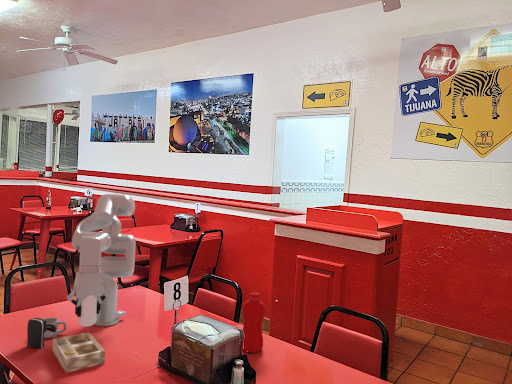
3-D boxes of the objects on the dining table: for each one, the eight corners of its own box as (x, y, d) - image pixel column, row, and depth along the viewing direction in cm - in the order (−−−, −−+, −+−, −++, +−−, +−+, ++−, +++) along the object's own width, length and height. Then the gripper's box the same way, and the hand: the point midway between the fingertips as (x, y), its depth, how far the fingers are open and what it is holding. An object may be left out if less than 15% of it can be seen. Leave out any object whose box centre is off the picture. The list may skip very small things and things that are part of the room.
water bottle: (248, 341, 186) (252, 287, 184) (265, 350, 178) (269, 294, 176) (233, 346, 179) (237, 290, 178) (250, 355, 171) (254, 297, 170)
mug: (39, 339, 173) (40, 323, 172) (41, 332, 179) (42, 318, 179) (65, 337, 177) (66, 322, 176) (66, 330, 183) (67, 316, 182)
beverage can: (98, 324, 156) (100, 294, 155) (82, 328, 152) (84, 297, 151) (91, 320, 160) (93, 290, 160) (75, 323, 156) (77, 292, 155)
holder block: (88, 343, 172) (88, 331, 171) (104, 363, 156) (105, 350, 156) (52, 351, 163) (52, 338, 163) (65, 373, 147) (66, 358, 147)
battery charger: (47, 345, 167) (48, 318, 167) (40, 349, 164) (41, 321, 163) (33, 342, 169) (34, 315, 169) (26, 346, 166) (27, 318, 165)
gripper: (109, 263, 163) (107, 307, 164) (63, 268, 152) (60, 315, 153) (116, 268, 157) (113, 313, 158) (68, 273, 146) (66, 321, 147)
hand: (87, 313), depth 156 cm, fingers closed on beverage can, 6 cm apart
